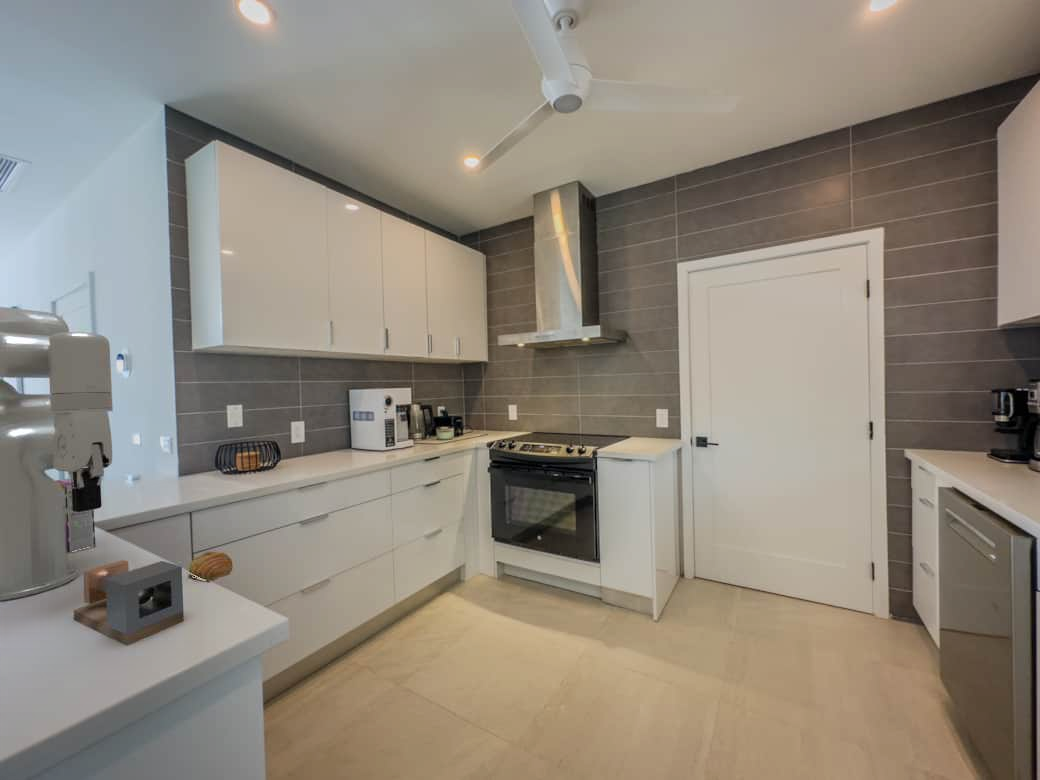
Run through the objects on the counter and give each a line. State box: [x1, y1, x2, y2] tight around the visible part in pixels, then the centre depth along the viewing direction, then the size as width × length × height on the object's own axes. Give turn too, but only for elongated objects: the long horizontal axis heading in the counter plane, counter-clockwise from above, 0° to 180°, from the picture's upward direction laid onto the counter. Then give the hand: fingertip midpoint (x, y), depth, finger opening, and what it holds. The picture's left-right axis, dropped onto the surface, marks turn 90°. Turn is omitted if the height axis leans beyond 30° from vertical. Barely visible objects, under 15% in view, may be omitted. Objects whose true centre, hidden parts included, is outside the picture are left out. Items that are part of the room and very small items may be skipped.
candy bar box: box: [55, 477, 96, 553], centre depth 105 cm, size 11×5×16 cm, turn 56°
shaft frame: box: [73, 560, 185, 646], centre depth 68 cm, size 18×7×8 cm, turn 63°
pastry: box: [188, 551, 234, 582], centre depth 85 cm, size 9×7×4 cm
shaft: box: [82, 559, 154, 605], centre depth 69 cm, size 13×5×5 cm, turn 63°
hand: (87, 509), depth 74 cm, fingers closed
